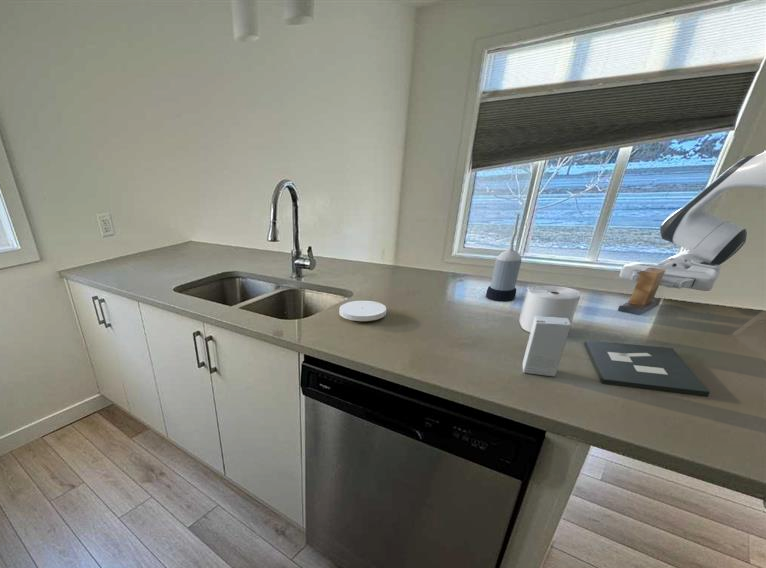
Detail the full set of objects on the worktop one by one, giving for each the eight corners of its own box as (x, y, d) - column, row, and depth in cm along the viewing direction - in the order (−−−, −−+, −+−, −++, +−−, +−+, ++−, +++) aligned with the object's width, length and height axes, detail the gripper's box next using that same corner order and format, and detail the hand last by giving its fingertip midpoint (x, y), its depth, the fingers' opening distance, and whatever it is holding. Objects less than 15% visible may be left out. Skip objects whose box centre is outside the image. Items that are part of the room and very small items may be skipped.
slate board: (670, 351, 91) (672, 347, 91) (707, 396, 76) (710, 391, 75) (583, 343, 98) (585, 339, 97) (601, 383, 83) (603, 379, 82)
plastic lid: (384, 325, 117) (385, 317, 116) (336, 323, 122) (336, 315, 120) (386, 308, 129) (387, 301, 127) (342, 307, 133) (342, 300, 132)
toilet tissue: (564, 340, 100) (577, 301, 95) (510, 330, 108) (519, 293, 103) (572, 325, 107) (584, 289, 102) (520, 317, 114) (529, 282, 109)
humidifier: (491, 291, 134) (508, 211, 122) (518, 296, 129) (540, 212, 116) (481, 298, 130) (498, 215, 117) (509, 303, 124) (530, 216, 112)
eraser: (658, 304, 114) (674, 267, 109) (639, 315, 109) (655, 276, 104) (636, 300, 118) (651, 264, 113) (617, 310, 113) (632, 273, 108)
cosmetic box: (552, 368, 89) (569, 317, 83) (555, 378, 86) (573, 325, 80) (520, 364, 92) (534, 314, 86) (521, 373, 88) (536, 322, 82)
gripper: (635, 255, 124) (614, 264, 118) (729, 266, 109) (710, 277, 103) (628, 275, 127) (606, 285, 122) (718, 289, 112) (698, 301, 106)
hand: (655, 281), depth 112 cm, fingers open, 8 cm apart
